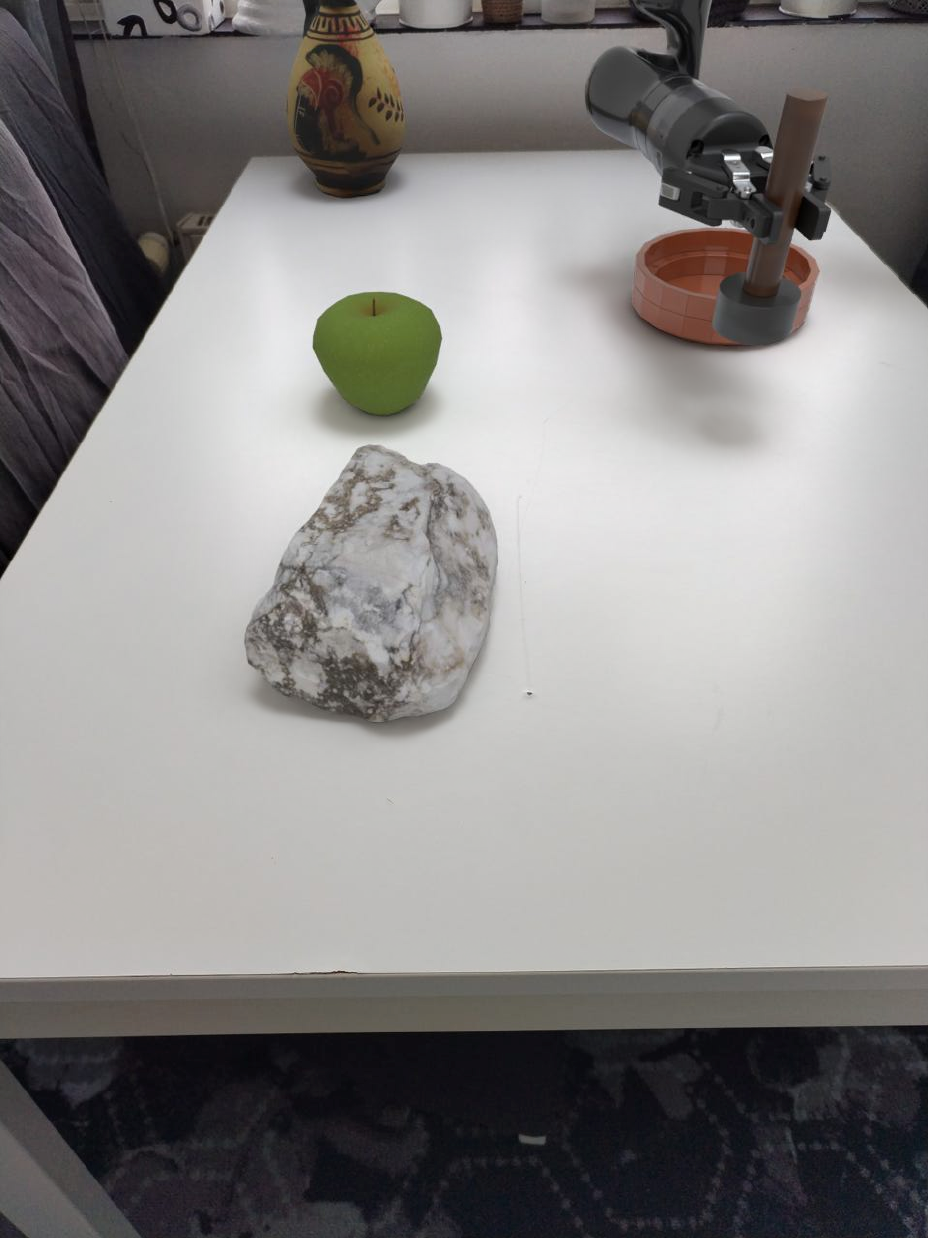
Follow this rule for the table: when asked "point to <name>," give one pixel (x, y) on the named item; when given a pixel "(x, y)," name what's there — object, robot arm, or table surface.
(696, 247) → the bowl
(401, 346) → the apple
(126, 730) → the table surface
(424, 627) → the decorative stone
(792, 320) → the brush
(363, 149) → the ceramic jug
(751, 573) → the table surface
